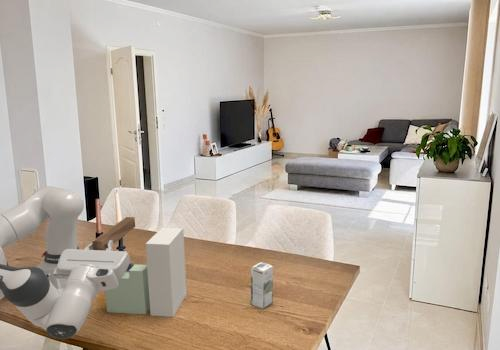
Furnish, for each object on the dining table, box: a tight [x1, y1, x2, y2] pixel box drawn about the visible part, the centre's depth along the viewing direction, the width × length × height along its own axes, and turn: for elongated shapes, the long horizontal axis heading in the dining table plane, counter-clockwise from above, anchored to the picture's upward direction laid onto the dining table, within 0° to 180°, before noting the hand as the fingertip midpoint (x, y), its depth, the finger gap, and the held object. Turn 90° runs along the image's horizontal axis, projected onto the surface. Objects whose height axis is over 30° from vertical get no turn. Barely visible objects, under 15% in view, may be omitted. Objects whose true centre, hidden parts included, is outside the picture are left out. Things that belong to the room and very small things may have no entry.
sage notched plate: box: [104, 263, 150, 315], centre depth 146 cm, size 14×5×16 cm, turn 82°
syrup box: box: [250, 261, 274, 310], centre depth 149 cm, size 6×6×14 cm
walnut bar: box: [91, 216, 136, 251], centre depth 136 cm, size 3×24×4 cm, turn 172°
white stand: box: [145, 227, 188, 318], centre depth 148 cm, size 8×16×26 cm, turn 172°
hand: (103, 240), depth 128 cm, fingers closed on walnut bar, 3 cm apart
